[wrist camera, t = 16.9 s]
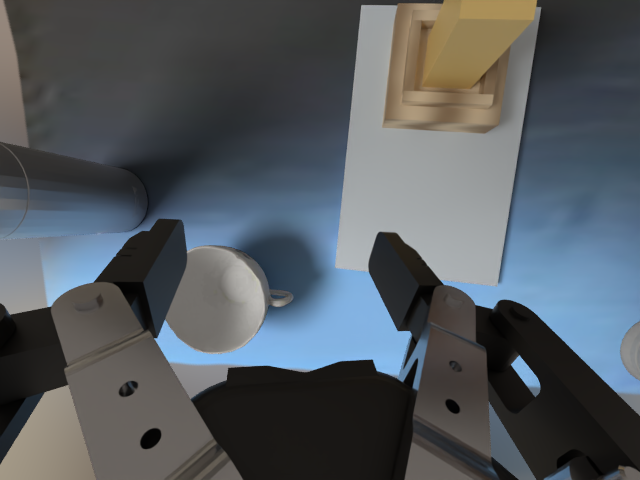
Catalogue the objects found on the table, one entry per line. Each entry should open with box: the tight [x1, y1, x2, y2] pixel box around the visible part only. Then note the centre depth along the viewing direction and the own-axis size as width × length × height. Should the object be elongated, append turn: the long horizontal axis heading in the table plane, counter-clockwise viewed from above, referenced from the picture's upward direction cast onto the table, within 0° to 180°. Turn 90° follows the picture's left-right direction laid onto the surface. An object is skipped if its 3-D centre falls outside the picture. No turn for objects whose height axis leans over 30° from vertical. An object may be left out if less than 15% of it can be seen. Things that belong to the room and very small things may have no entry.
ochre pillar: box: [422, 0, 537, 89], centre depth 24 cm, size 5×5×10 cm
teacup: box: [165, 245, 293, 354], centre depth 33 cm, size 15×12×8 cm
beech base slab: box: [382, 3, 511, 134], centre depth 29 cm, size 12×12×4 cm
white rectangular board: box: [335, 5, 541, 286], centre depth 33 cm, size 20×32×1 cm, turn 175°
